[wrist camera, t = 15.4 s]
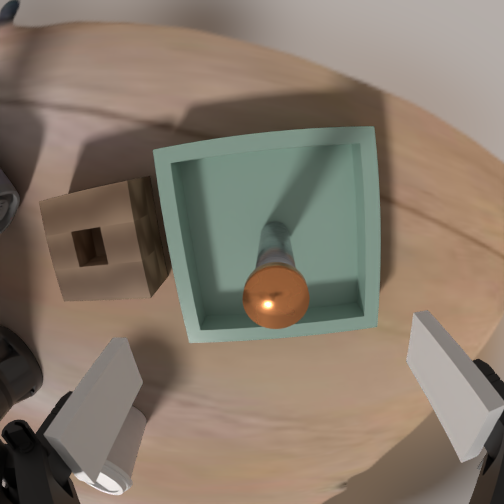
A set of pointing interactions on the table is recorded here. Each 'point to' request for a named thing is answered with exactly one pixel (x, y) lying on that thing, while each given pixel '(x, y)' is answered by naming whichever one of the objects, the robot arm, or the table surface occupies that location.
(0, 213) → the bluetooth speaker
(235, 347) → the table surface
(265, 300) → the pin
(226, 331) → the parts tray
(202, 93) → the table surface
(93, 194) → the wooden socket block
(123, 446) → the coffee cup
